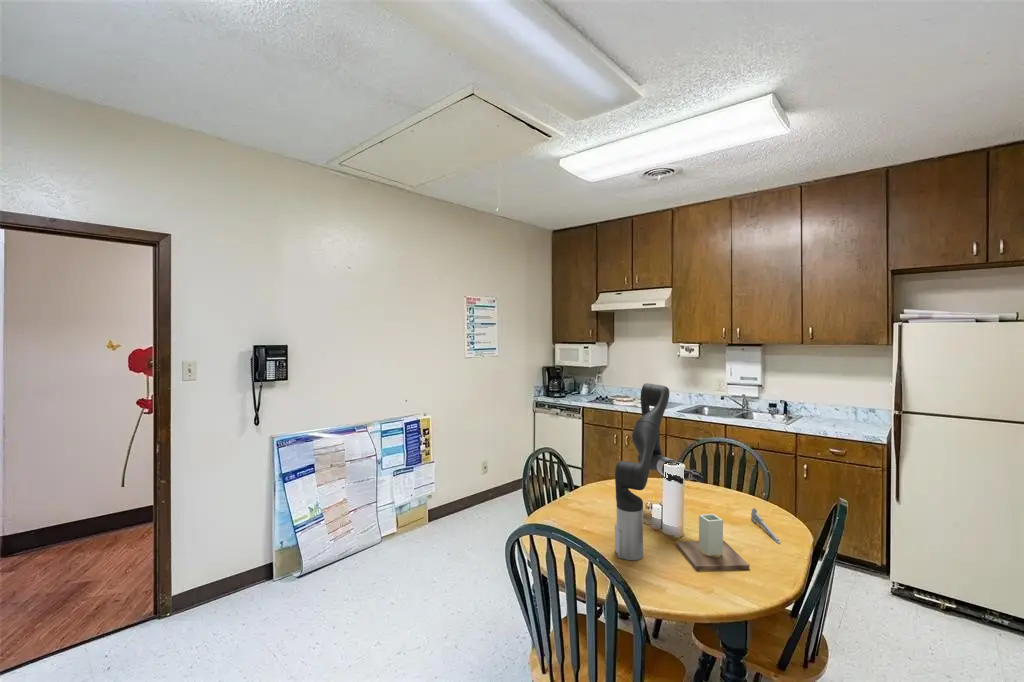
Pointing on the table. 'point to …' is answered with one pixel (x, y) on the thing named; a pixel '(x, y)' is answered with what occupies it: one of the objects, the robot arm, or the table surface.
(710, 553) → the sleeve
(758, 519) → the caliper
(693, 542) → the post stand
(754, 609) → the table surface
